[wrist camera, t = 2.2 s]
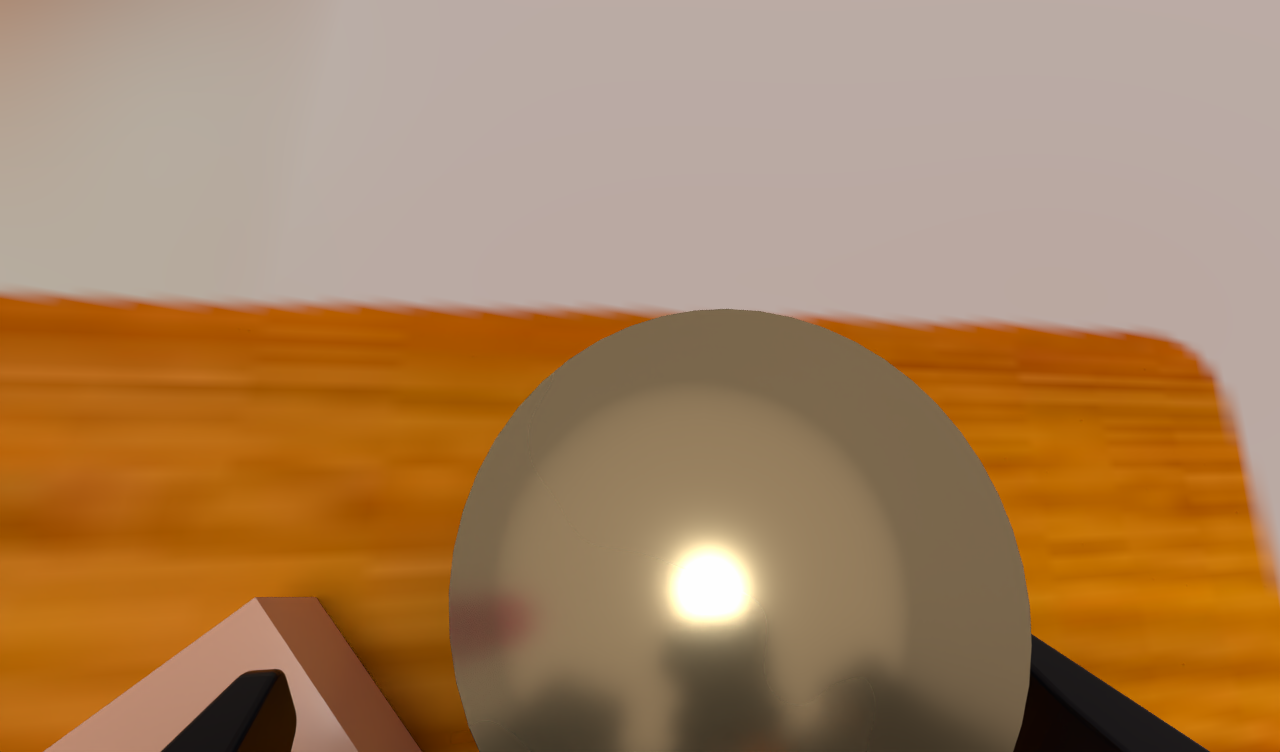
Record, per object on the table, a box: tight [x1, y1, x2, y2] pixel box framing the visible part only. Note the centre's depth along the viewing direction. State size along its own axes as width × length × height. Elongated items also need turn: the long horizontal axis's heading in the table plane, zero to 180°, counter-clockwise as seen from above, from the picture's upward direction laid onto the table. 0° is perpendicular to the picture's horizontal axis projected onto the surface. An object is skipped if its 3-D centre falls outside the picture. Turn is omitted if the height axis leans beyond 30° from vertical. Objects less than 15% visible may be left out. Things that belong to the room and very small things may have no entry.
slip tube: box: [449, 309, 1032, 752], centre depth 11 cm, size 5×5×14 cm
